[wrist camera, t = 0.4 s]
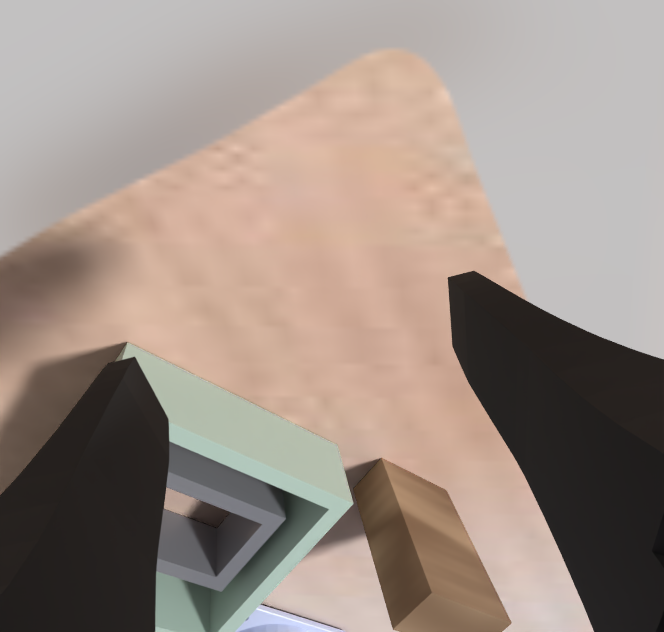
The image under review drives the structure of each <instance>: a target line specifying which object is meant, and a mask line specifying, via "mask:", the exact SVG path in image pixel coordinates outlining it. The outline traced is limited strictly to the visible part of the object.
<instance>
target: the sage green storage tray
mask: <svg viewBox="0 0 664 632" xmlns="http://www.w3.org/2000/svg"><path fill="white" fill-rule="evenodd" d="M131 357H135V358H136V359H137V361H138V363H139V365H140V367H141V369H142V371H143V372H144V374H145V376H146V378H147V380H148V382H149V384H150V385H151V387H152V389H153V391H154V393H155V395H156V397H157V398H158V400H159V402H160V404H161V406H162V408H163V409H164V411H165V413H166V415H167V417H168V419H169V468H168V476H167V485H166V487H167V488H170V489H172V490H175V491H177V492H180V493H183V494H185V495H188V496H190V497H193V498H196V499H198V500H201V501H203V502H206V503H208V504H211V505H214V506H216V507H219V508H221V509H224V510H227V511H229V512H230V514H229V515H228V516H227V517H226V518H225V519H224V521H223V522H222V523H221V524H220V525H219V527H218V528H214V527H212V526H209V525H206V524H203V523H201V522H198V521H195V520H193V519H190V518H187V517H184V516H182V515H179V514H176V513H174V512H171V511H168V510H165V509H163V516H162V524H161V532H160V540H159V547H158V557H157V569H156V610H155V632H235V631H236V630H237V629H238V628H239V627H240V626H241V625H242V624H243V623H244V621H245V620H246V619H247V618H248V617H249V616H250V615H251V614H252V613H253V612H254V611H255V610H256V609H257V607H258V606H259V605H260V604H261V603H262V602H263V601H264V600H265V599H266V598H267V597H268V596H269V594H270V593H271V592H272V591H273V590H274V589H275V588H276V587H277V586H278V585H279V584H280V583H281V581H282V580H283V579H284V578H285V577H286V576H287V575H288V574H289V573H290V572H291V571H292V570H293V569H294V567H295V566H296V565H297V564H298V563H299V562H300V561H301V560H302V559H303V558H304V557H305V556H306V554H307V553H308V552H309V551H310V550H311V549H312V548H313V547H314V546H315V545H316V544H317V543H318V542H319V540H320V539H321V538H322V537H323V536H324V535H325V534H326V533H327V532H328V531H329V530H330V529H331V527H332V526H333V525H334V524H335V523H336V522H337V521H338V520H339V519H340V518H341V517H342V516H343V515H344V513H345V512H346V511H347V510H348V509H349V508H350V507H351V506H352V505H353V504H354V503H353V500H352V496H351V492H350V489H349V485H348V482H347V478H346V474H345V471H344V467H343V463H342V460H341V456H340V453H339V449H338V445H336V444H334V443H332V442H330V441H328V440H326V439H324V438H322V437H320V436H318V435H316V434H314V433H312V432H310V431H308V430H306V429H304V428H302V427H300V426H298V425H296V424H294V423H292V422H290V421H288V420H285V419H283V418H281V417H279V416H277V415H275V414H273V413H271V412H269V411H267V410H265V409H263V408H261V407H259V406H257V405H255V404H253V403H251V402H249V401H247V400H245V399H243V398H241V397H239V396H237V395H235V394H233V393H230V392H228V391H226V390H224V389H222V388H220V387H218V386H216V385H214V384H212V383H210V382H208V381H206V380H204V379H202V378H200V377H198V376H196V375H194V374H192V373H190V372H188V371H186V370H184V369H182V368H180V367H177V366H175V365H173V364H171V363H169V362H167V361H165V360H163V359H161V358H159V357H157V356H155V355H153V354H151V353H149V352H147V351H145V350H143V349H141V348H139V347H137V346H135V345H133V344H131V343H129V342H127V344H126V345H125V347H124V348H123V350H122V351H121V353H120V354H119V356H118V357H117V359H116V360H115V361H119V360H123V359H127V358H131Z"/></svg>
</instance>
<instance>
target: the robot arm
mask: <svg viewBox="0 0 664 632" xmlns="http://www.w3.org/2000/svg"><path fill="white" fill-rule="evenodd" d="M448 287H449V301H450V316H451V330H452V345H453V348H454V351H455V353H456V355H457V358H458V360H459V362H460V365H461V367H462V369H463V371H464V374H465V376H466V378H467V380H468V382H469V384H470V386H471V387H472V389H473V391H474V392H475V394H476V396H477V397H478V399H479V401H480V402H481V404H482V406H483V407H484V409H485V411H486V412H487V414H488V415H489V417H490V419H491V420H492V422H493V423H494V425H495V427H496V428H497V430H498V432H499V433H500V435H501V436H502V438H503V440H504V441H505V443H506V445H507V446H508V448H509V449H510V451H511V453H512V454H513V456H514V458H515V459H516V461H517V463H518V465H519V466H520V468H521V470H522V472H523V474H524V476H525V478H526V480H527V482H528V484H529V486H530V488H531V490H532V492H533V494H534V496H535V498H536V501H537V503H538V505H539V507H540V509H541V511H542V513H543V515H544V517H545V520H546V522H547V524H548V526H549V528H550V530H551V533H552V535H553V537H554V539H555V541H556V544H557V546H558V548H559V550H560V552H561V555H562V557H563V559H564V561H565V564H566V566H567V568H568V571H569V573H570V575H571V578H572V580H573V582H574V585H575V587H576V589H577V591H578V594H579V596H580V598H581V601H582V603H583V605H584V608H585V610H586V613H587V615H588V618H589V620H590V622H591V625H592V627H593V630H594V632H664V360H663V359H660V358H657V357H653V356H651V355H647V354H645V353H642V352H638V351H636V350H633V349H630V348H627V347H625V346H622V345H620V344H617V343H615V342H612V341H609V340H607V339H604V338H602V337H599V336H597V335H594V334H592V333H590V332H587V331H585V330H583V329H581V328H579V327H577V326H575V325H572V324H570V323H568V322H566V321H564V320H562V319H560V318H558V317H556V316H554V315H552V314H550V313H548V312H546V311H544V310H542V309H540V308H538V307H536V306H535V305H533V304H531V303H529V302H527V301H526V300H524V299H522V298H520V297H519V296H517V295H515V294H513V293H512V292H510V291H508V290H506V289H505V288H503V287H501V286H500V285H498V284H496V283H494V282H493V281H491V280H489V279H488V278H486V277H484V276H482V275H481V274H479V273H477V272H475V271H471V272H467V273H463V274H460V275H456V276H452V277H448ZM168 468H169V419H168V417H167V415H166V413H165V411H164V409H163V408H162V406H161V404H160V402H159V400H158V398H157V397H156V395H155V393H154V391H153V389H152V387H151V385H150V384H149V382H148V380H147V378H146V376H145V374H144V372H143V371H142V369H141V367H140V365H139V363H138V361H137V359H136V358H135V357H131V358H127V359H123V360H119V361H115V362H111V363H108V364H107V365H106V367H105V368H104V369H103V370H102V371H101V373H100V374H99V375H98V376H97V378H96V379H95V380H94V382H93V383H92V384H91V386H90V387H89V388H88V390H87V391H86V392H85V394H84V395H83V396H82V398H81V399H80V400H79V402H78V403H77V404H76V406H75V407H74V408H73V409H72V411H71V412H70V413H69V415H68V416H67V417H66V419H65V420H64V421H63V423H62V424H61V425H60V426H59V428H58V429H57V430H56V432H55V433H54V434H53V435H52V437H51V438H50V439H49V440H48V441H47V443H46V444H45V445H44V446H43V447H42V449H41V450H40V451H39V452H38V453H37V455H36V456H35V457H34V458H33V459H32V461H31V462H30V463H29V464H28V465H27V466H26V468H25V469H24V470H23V471H22V472H21V474H20V475H19V476H18V477H17V478H16V479H15V480H14V481H13V482H12V483H11V485H10V486H9V487H8V488H7V489H6V490H5V491H4V492H3V493H2V494H1V495H0V632H155V610H156V569H157V557H158V547H159V540H160V532H161V524H162V516H163V509H164V501H165V493H166V485H167V476H168ZM235 632H345V631H343V630H340V629H337V628H334V627H330V626H327V625H324V624H321V623H318V622H314V621H311V620H308V619H305V618H302V617H299V616H295V615H292V614H289V613H286V612H283V611H279V610H276V609H273V608H270V607H267V606H263V605H259V606H258V607H257V609H256V610H255V611H254V612H253V613H252V614H251V615H250V616H249V617H248V618H247V619H246V620H245V621H244V623H243V624H242V625H241V626H240V627H239V628H238V629H237V630H236V631H235Z"/></svg>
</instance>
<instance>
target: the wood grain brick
mask: <svg viewBox="0 0 664 632" xmlns="http://www.w3.org/2000/svg"><path fill="white" fill-rule="evenodd" d="M353 491H354V494H355V498H356V501H357V505H358V508H359V512H360V515H361V519H362V522H363V526H364V529H365V533H366V536H367V540H368V543H369V547H370V550H371V554H372V557H373V561H374V564H375V568H376V571H377V575H378V578H379V582H380V585H381V589H382V592H383V596H384V599H385V603H386V606H387V610H388V614H389V617H390V621H391V624H392V628H393V630H396V631H399V632H502V631H503V630H505V629H506V628H507V627H508V626H509V625H510V624H511V621H510V619H509V617H508V615H507V613H506V611H505V608H504V606H503V604H502V602H501V600H500V598H499V596H498V594H497V592H496V590H495V588H494V586H493V584H492V582H491V580H490V578H489V576H488V574H487V572H486V570H485V568H484V566H483V564H482V562H481V560H480V558H479V556H478V554H477V552H476V549H475V547H474V545H473V543H472V541H471V539H470V537H469V535H468V533H467V531H466V529H465V527H464V525H463V523H462V521H461V519H460V517H459V515H458V513H457V511H456V509H455V507H454V505H453V503H452V501H451V499H450V497H449V495H448V493H447V491H446V490H445V489H443V488H441V487H439V486H437V485H435V484H433V483H431V482H429V481H427V480H425V479H423V478H421V477H419V476H417V475H415V474H413V473H411V472H409V471H407V470H405V469H403V468H401V467H399V466H397V465H395V464H393V463H391V462H389V461H387V460H385V459H383V458H381V459H380V460H379V461H378V462H377V463H376V464H375V466H374V467H373V468H372V469H371V470H370V471H369V472H368V473H367V474H366V475H365V476H364V478H363V479H362V480H361V481H360V482H359V483H358V484H357V485H356V486H355V487H354V488H353Z"/></svg>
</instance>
